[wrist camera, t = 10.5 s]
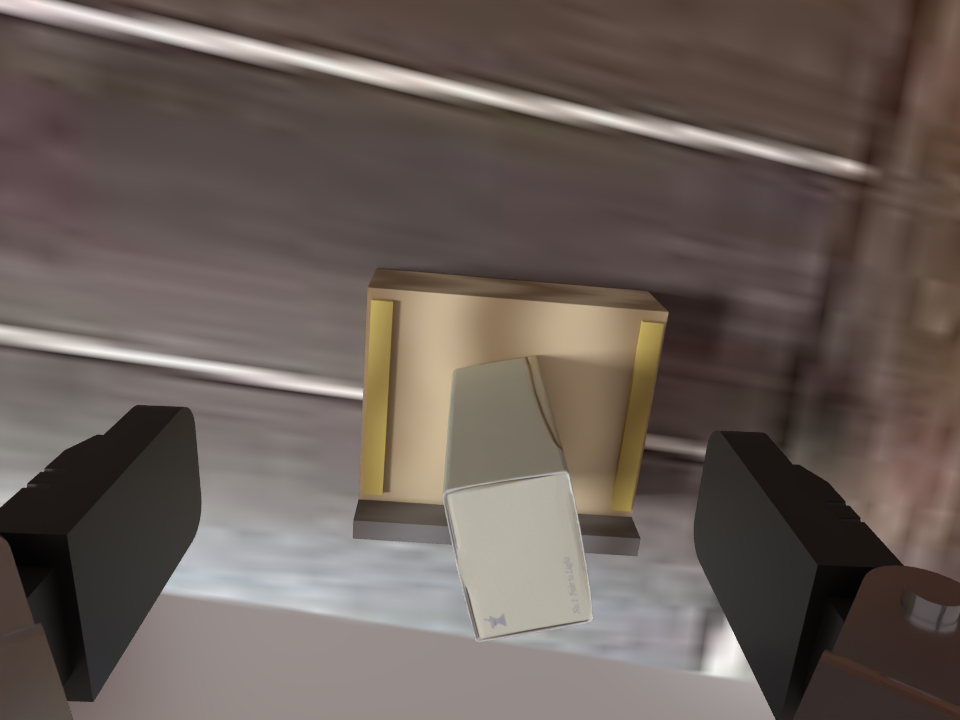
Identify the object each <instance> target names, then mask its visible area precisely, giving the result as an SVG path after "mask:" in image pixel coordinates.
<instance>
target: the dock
mask: <svg viewBox="0 0 960 720" xmlns="http://www.w3.org/2000/svg"><path fill="white" fill-rule="evenodd" d="M668 313H669V312H668V311H667V310H666V309H665V308H664V307H663V306H662V305H661V304H660V303H659V302H658V301H657V300H656V299H655V298H654V297H653V296H652V295H651V294H650V293H649V292H648V291H640V290H628V289H616V288H604V287H592V286H580V285H568V284H556V283H544V282H532V281H520V280H508V279H496V278H484V277H472V276H460V275H448V274H436V273H424V272H412V271H400V270H388V269H376V271H375V273H374V276H373V278H372V280H371V282H370V284H369V286H368V298H367V321H366V344H365V367H364V390H363V412H362V435H361V458H360V481H359V500H358V504H357V508H356V513H355V517H354V522H353V538H354V539H370V540H386V541H402V542H418V543H434V544H450V545H452V542H451V537H450V532H449V528H448V523H447V518H446V513H445V508H444V503H443V496H442V494H443V482H444V468H445V457H446V444H447V430H448V417H449V404H450V392H451V378H452V372H453V371H454V370H456V369H460V368H465V367H471V366H476V365H482V364H487V363H493V362H499V361H505V360H511V359H517V358H523V357H530V356H537V357H538V359H539V363H540V366H541V369H542V373H543V376H544V380H545V384H546V387H547V391H548V395H549V398H550V402H551V406H552V410H553V413H554V417H555V421H556V425H557V428H558V432H559V436H560V440H561V443H562V447H563V451H564V455H565V459H566V462H567V466H568V470H569V473H570V477H571V482H572V487H573V492H574V497H575V502H576V507H577V512H578V518H579V523H580V528H581V534H582V540H583V546H584V552H585V553H595V554H611V555H627V556H637V555H638V549H639V544H640V536H639V534H638V532H637V529H636V527H635V524H634V522H633V520H632V511H633V506H634V500H635V495H636V489H637V484H638V478H639V473H640V467H641V462H642V456H643V451H644V445H645V440H646V434H647V429H648V423H649V418H650V412H651V407H652V401H653V396H654V390H655V385H656V379H657V373H658V368H659V362H660V357H661V351H662V346H663V340H664V335H665V329H666V324H667V318H668Z"/></svg>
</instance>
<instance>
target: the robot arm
mask: <svg viewBox="0 0 960 720" xmlns="http://www.w3.org/2000/svg"><path fill="white" fill-rule="evenodd" d="M845 503H846V502H845V501H844V499H843V498H842V497H841V496H840V495H839V494H838V493H837V492H836V491H835V490H834V488H833V487H832V486H831V485H830V484H829V483H828V482H827V481H825V480H823V479H822V478H820V477H818V476H817V475H815V474H813V473H812V472H810V471H809V470H807V469H805V468H804V467H802V466H800V465H793V464H792V463H791V462H790V461H789V460H788V459H787V457H786V456H785V455H784V454H783V453H782V452H781V450H780V449H779V448H778V447H777V446H776V445H775V443H774V442H773V441H772V440H771V439H770V438H769V436H768V435H767V434H765V433H759V432H736V431H714V432H713V433H712V435H711V436H710V439H709V441H708V445H707V449H706V455H705V461H704V467H703V473H702V479H701V484H700V490H699V496H698V502H697V508H696V513H695V520H694V543H695V549H696V554H697V557H698V560H699V562H700V564H701V566H702V568H703V570H704V572H705V574H706V577H707V579H708V581H709V583H710V585H711V587H712V589H713V591H714V593H715V595H716V597H717V599H718V601H719V603H720V605H721V608H722V610H723V612H724V614H725V616H726V618H727V620H728V622H729V624H730V626H731V628H732V630H733V632H734V634H735V636H736V639H737V641H738V643H739V645H740V647H741V649H742V651H743V653H744V655H745V657H746V659H747V661H748V663H749V665H750V667H751V669H752V672H753V674H754V676H755V678H756V680H757V682H758V684H759V686H760V688H761V690H762V692H763V694H764V696H765V698H766V700H767V702H768V705H769V706H770V709H771V711H772V713H773V715H774V717H775V719H776V720H960V583H959V582H957V581H955V580H953V579H951V578H948V577H945V576H943V575H940V574H938V573H934V572H931V571H928V570H924V569H920V568H915V567H909V566H904V565H903V564H902V563H901V562H900V561H899V560H898V559H897V558H896V557H895V555H894V554H893V553H892V552H891V551H890V550H889V549H888V548H887V547H886V546H885V544H884V543H883V542H882V541H881V540H880V539H879V538H878V537H877V536H876V535H875V533H874V532H873V531H872V530H871V529H870V528H869V527H868V526H867V525H866V524H865V522H861V521H860V517H859V516H858V515H857V514H856V513H855V512H854V510H853V509H852V508H851V507H850V506H846V504H845ZM200 515H201V488H200V477H199V465H198V453H197V442H196V430H195V421H194V417H193V414H192V412H191V410H190V409H189V408H187V407H172V406H148V405H136V406H134V407H133V408H132V409H131V410H130V411H129V412H128V413H126V414H125V415H124V416H123V417H122V418H121V419H120V420H119V421H118V422H117V423H116V424H115V425H114V426H113V427H112V428H111V429H109V430H108V431H107V432H106V433H105V434H104V435H96V436H93V437H91V438H89V439H87V440H85V441H83V442H81V443H79V444H77V445H75V446H73V447H70V448H68V449H66V450H65V451H64V452H62V453H61V454H60V455H59V456H58V457H57V458H56V459H55V460H53V461H52V462H51V463H50V464H49V465H48V466H47V467H46V468H45V471H44V472H40V473H39V474H38V475H37V476H35V477H34V478H33V479H32V480H31V481H30V482H29V483H28V484H27V488H22V489H21V490H20V491H19V492H17V493H16V494H15V495H14V496H13V497H12V498H11V499H9V500H8V501H7V502H6V503H5V504H4V505H3V506H2V507H0V720H73V717H72V714H71V711H70V708H69V705H68V702H67V701H84V702H93V701H94V700H95V698H96V697H97V695H98V694H99V692H100V690H101V689H102V687H103V685H104V683H105V682H106V681H107V679H108V677H109V675H110V674H111V672H112V671H113V669H114V667H115V666H116V664H117V663H118V661H119V659H120V658H121V656H122V655H123V653H124V651H125V650H126V648H127V647H128V645H129V643H130V642H131V640H132V638H133V637H134V635H135V633H136V632H137V630H138V629H139V627H140V625H141V624H142V622H143V620H144V619H145V617H146V616H147V614H148V612H149V611H150V609H151V608H152V606H153V604H154V603H155V601H156V600H157V598H158V596H159V595H160V593H161V591H162V590H163V588H164V587H165V585H166V583H167V582H168V580H169V578H170V577H171V575H172V574H173V572H174V570H175V569H176V567H177V566H178V564H179V562H180V561H181V559H182V557H183V556H184V554H185V553H186V551H187V549H188V548H189V546H190V544H191V543H192V541H193V539H194V537H195V535H196V532H197V529H198V526H199V521H200Z"/></svg>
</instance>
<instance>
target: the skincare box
mask: <svg viewBox="0 0 960 720" xmlns="http://www.w3.org/2000/svg"><path fill="white" fill-rule="evenodd" d="M442 496H443V503H444V508H445V513H446V518H447V523H448V528H449V532H450V537H451V542H452V547H453V551H454V556H455V561H456V566H457V570H458V573H459V577H460V581H461V585H462V590H463V594H464V598H465V602H466V605H467V609H468V613H469V617H470V621H471V624H472V628H473V632H474V637H475V640H476V641H477V642H482V641H488V640H494V639H501V638H507V637H514V636H520V635H526V634H531V633H538V632H543V631H550V630H556V629H560V628H566V627H571V626H577V625H581V624H587V623H590V622H592V621H593V609H592V599H591V591H590V584H589V577H588V570H587V564H586V557H585V552H584V546H583V540H582V534H581V528H580V523H579V518H578V512H577V507H576V502H575V497H574V492H573V487H572V482H571V477H570V473H569V470H568V466H567V462H566V459H565V455H564V451H563V447H562V443H561V440H560V436H559V432H558V428H557V425H556V421H555V417H554V413H553V410H552V406H551V402H550V398H549V395H548V391H547V387H546V384H545V380H544V376H543V373H542V369H541V366H540V363H539V359H538V357H537V356H530V357H523V358H517V359H511V360H505V361H499V362H493V363H487V364H482V365H476V366H471V367H465V368H460V369H456V370H454V371H453V372H452V378H451V392H450V404H449V417H448V430H447V444H446V457H445V468H444V482H443V494H442Z"/></svg>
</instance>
